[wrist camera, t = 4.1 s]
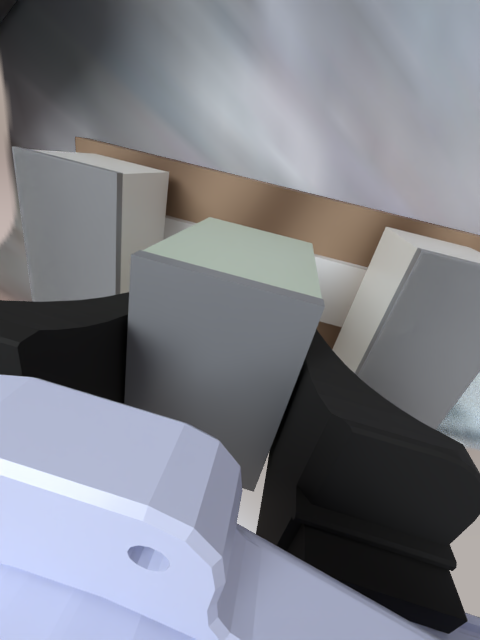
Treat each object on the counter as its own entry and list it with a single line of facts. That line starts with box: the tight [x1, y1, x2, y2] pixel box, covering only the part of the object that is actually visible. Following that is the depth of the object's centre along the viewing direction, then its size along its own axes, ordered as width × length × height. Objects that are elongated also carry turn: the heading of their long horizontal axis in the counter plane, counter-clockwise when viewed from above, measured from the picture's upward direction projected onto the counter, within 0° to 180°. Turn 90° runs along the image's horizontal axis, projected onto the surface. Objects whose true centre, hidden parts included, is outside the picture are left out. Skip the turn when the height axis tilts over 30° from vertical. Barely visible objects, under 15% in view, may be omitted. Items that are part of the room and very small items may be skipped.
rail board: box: [75, 137, 480, 349], centre depth 18 cm, size 22×9×2 cm, turn 78°
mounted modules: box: [12, 146, 480, 430], centre depth 15 cm, size 19×8×5 cm, turn 78°
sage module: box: [124, 217, 325, 491], centre depth 10 cm, size 4×6×6 cm, turn 168°
